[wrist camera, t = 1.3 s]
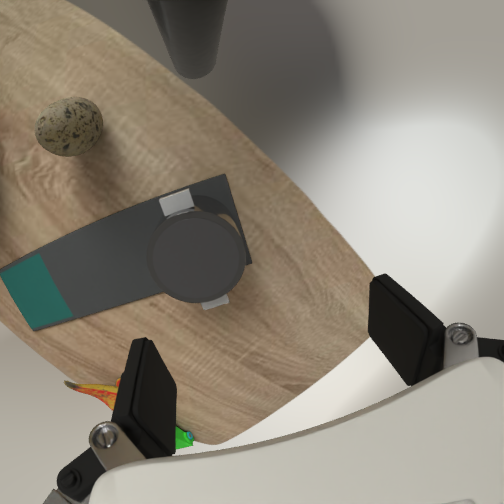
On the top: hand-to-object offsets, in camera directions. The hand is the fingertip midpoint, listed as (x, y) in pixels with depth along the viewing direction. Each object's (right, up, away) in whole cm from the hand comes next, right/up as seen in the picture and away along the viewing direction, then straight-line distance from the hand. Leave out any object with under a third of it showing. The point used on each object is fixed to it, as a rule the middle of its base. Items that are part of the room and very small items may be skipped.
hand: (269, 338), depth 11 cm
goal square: (-31, -2, +19) cm, 37 cm away
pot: (-7, +5, +20) cm, 22 cm away
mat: (-19, +2, +20) cm, 28 cm away
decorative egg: (-19, +17, +14) cm, 29 cm away
